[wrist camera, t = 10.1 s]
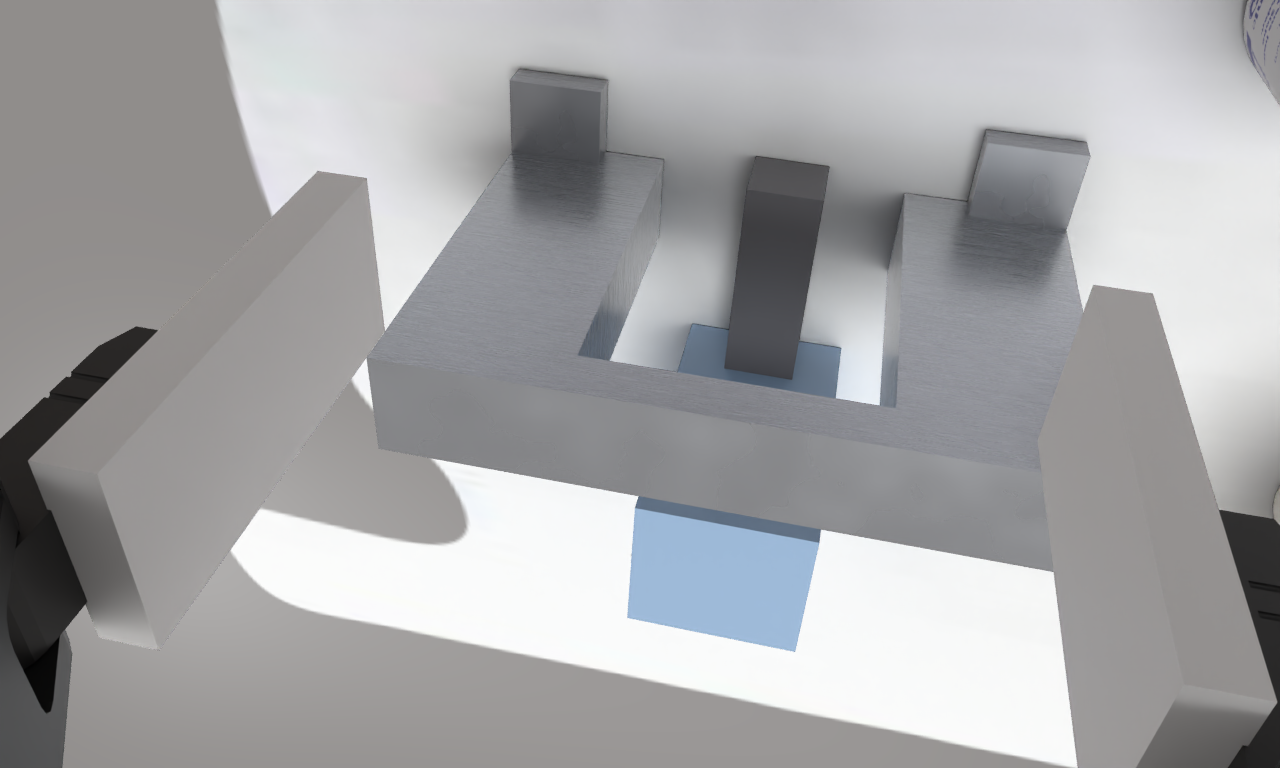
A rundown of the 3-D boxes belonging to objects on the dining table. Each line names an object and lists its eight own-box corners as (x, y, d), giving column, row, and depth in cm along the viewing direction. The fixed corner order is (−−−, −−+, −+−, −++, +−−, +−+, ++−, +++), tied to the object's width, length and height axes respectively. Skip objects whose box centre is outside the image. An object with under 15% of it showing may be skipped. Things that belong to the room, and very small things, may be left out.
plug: (709, 149, 36) (648, 313, 28) (877, 173, 35) (862, 349, 27) (681, 426, 43) (627, 617, 35) (819, 451, 42) (795, 651, 35)
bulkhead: (519, 68, 35) (355, 272, 25) (1086, 142, 33) (1156, 399, 23) (523, 276, 40) (387, 515, 30) (1018, 354, 38) (1050, 642, 28)
